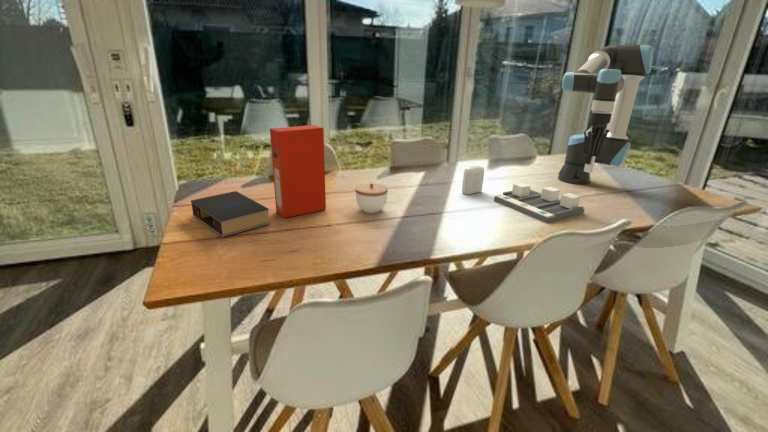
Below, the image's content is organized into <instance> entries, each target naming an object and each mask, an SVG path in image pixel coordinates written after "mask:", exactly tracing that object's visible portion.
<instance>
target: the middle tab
mask: <svg viewBox="0 0 768 432" xmlns="http://www.w3.org/2000/svg"><path fill="white" fill-rule="evenodd" d="M560 194H561V189H559V188H556V187H554V186H547V187H542V189H541V198H542V199H544V200H547V201H550V202H551V201H556V200H560V199H559V198H560Z"/></svg>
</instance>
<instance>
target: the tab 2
mask: <svg viewBox="0 0 768 432" xmlns="http://www.w3.org/2000/svg"><path fill="white" fill-rule="evenodd" d="M560 200H561V201H560V205H561V206H563V207H566V208H569V209H572V208H576V207H580V206H579V205H580V200H581V196H580V195H577V194H574V193H571V192H568V193H563V194H561V196H560Z"/></svg>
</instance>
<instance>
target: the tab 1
mask: <svg viewBox="0 0 768 432" xmlns="http://www.w3.org/2000/svg"><path fill="white" fill-rule="evenodd" d="M530 190H531V185H529V184H527V183H524V182H518V183H517V182H516V183H513V184H512V189H511V191H512V194H513V195H516V196H518V197H525V196H529V192H530Z"/></svg>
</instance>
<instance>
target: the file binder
mask: <svg viewBox="0 0 768 432" xmlns="http://www.w3.org/2000/svg"><path fill="white" fill-rule="evenodd" d="M324 132H325V131H324V127H323V126H319V125H315V124H311V125H309V124H308V125H297V126H287V127H284V126H283V127H275V128H269V135H270V148H271V159H272V161H271V163H272V173H273V185H274V187H273V188H274V198H275V212H276V213H277V214H278V215H279V216H280V217H282V218H283V219H287V218H291V217H296V216H301V215H305V214H309V213H314V212H320V211H324V210H326V209H327V207H326V206H327V205H326V204H327V203H326V200H327V199H326V173H325V172H326V170H325V169H326V167H325V165H326V163H325V138H324V137H325V134H324Z"/></svg>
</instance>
